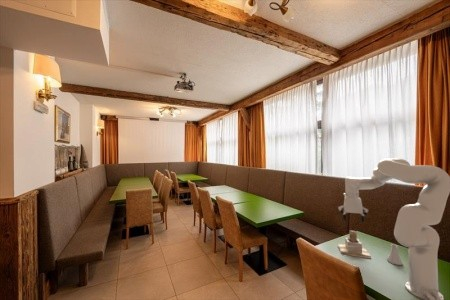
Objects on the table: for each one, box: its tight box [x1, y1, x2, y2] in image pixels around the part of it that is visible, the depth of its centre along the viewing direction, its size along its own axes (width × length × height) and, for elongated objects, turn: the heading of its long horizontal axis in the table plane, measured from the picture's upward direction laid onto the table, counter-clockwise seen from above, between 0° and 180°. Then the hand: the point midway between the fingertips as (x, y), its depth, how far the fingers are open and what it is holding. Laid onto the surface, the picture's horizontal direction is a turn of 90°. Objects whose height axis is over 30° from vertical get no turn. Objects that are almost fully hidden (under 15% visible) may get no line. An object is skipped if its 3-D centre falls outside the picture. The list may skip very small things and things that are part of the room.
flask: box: [386, 244, 404, 266], centre depth 116 cm, size 7×7×10 cm
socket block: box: [337, 236, 372, 259], centre depth 128 cm, size 12×16×8 cm
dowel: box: [349, 229, 358, 243], centre depth 129 cm, size 4×4×12 cm
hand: (353, 221), depth 129 cm, fingers open, 9 cm apart
